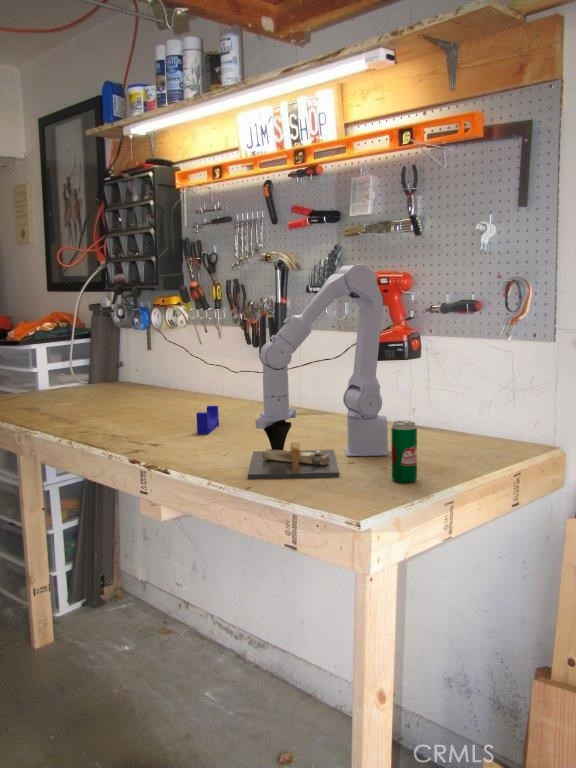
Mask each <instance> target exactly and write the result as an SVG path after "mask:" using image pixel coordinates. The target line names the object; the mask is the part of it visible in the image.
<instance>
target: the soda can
mask: <svg viewBox="0 0 576 768" xmlns="http://www.w3.org/2000/svg"><path fill="white" fill-rule="evenodd" d="M391 479H392V481H394V483H398V484H413V483H415V482H416V481H417V479H418V427H417V426H416V422H415V421H411V420H395V421H393V425H392V426H391Z"/></svg>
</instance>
